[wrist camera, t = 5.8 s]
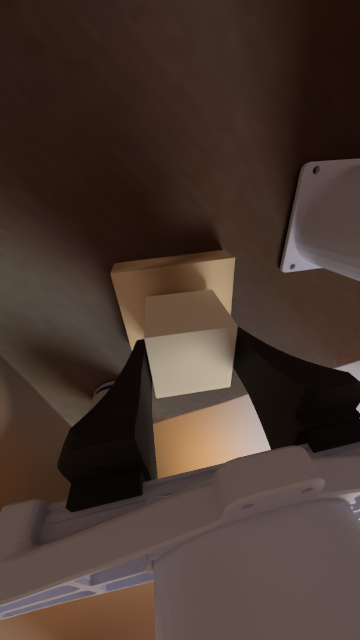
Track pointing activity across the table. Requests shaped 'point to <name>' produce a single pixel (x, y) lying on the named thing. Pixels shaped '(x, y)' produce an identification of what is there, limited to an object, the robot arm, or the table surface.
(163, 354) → the cream block
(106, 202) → the table surface
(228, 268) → the oak box
